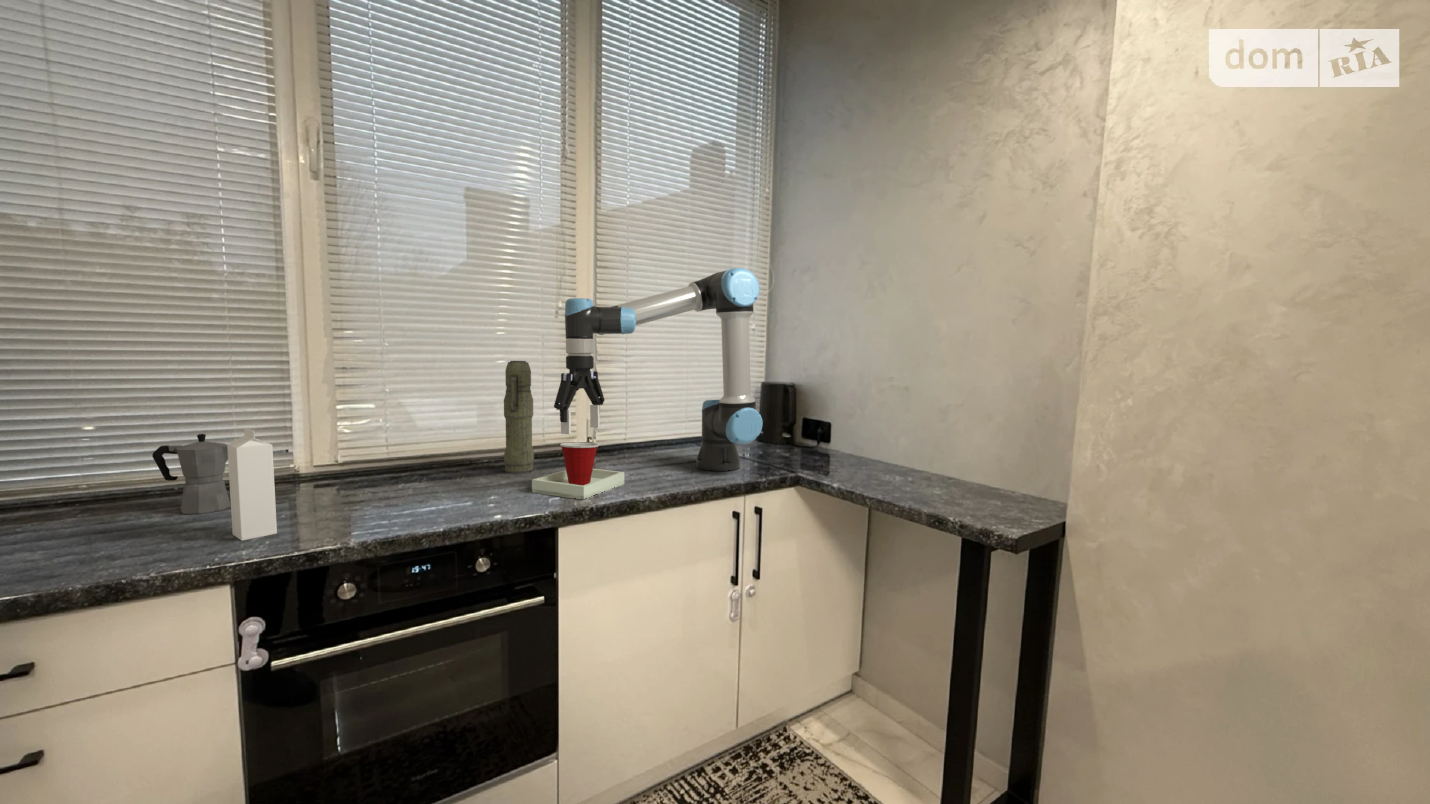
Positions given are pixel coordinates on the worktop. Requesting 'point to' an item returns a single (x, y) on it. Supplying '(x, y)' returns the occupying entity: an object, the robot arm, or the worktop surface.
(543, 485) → the tray
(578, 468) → the plastic cup
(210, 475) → the coffeepot
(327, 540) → the worktop surface
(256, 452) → the milk
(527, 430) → the thermos
